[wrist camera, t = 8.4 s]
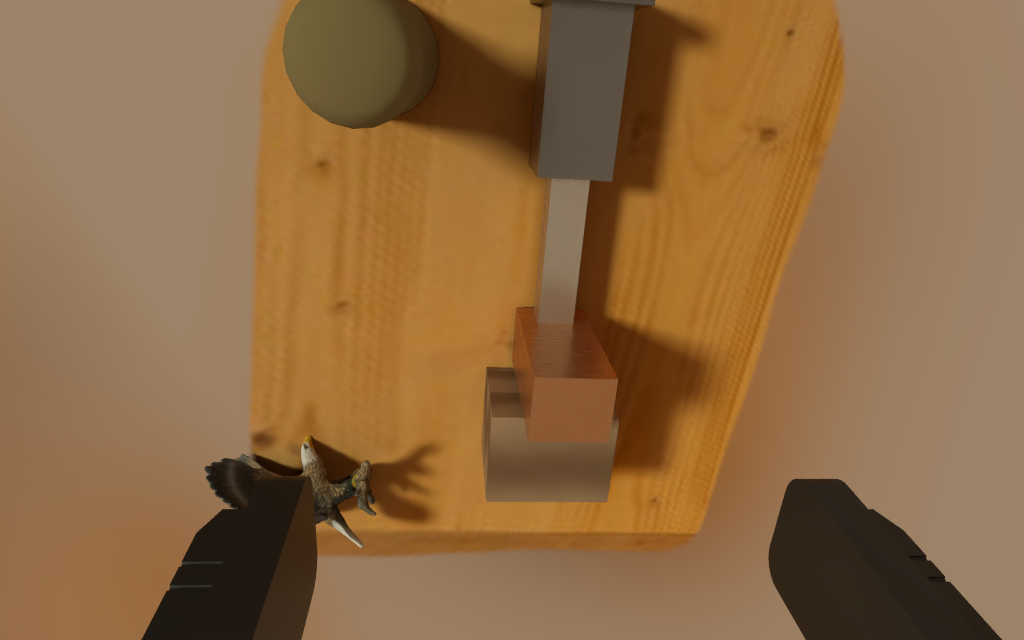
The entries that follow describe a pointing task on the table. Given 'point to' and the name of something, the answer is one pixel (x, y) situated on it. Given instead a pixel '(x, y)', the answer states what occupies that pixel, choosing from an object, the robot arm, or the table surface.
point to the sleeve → (580, 86)
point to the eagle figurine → (243, 474)
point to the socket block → (537, 454)
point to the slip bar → (562, 334)
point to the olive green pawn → (360, 59)
